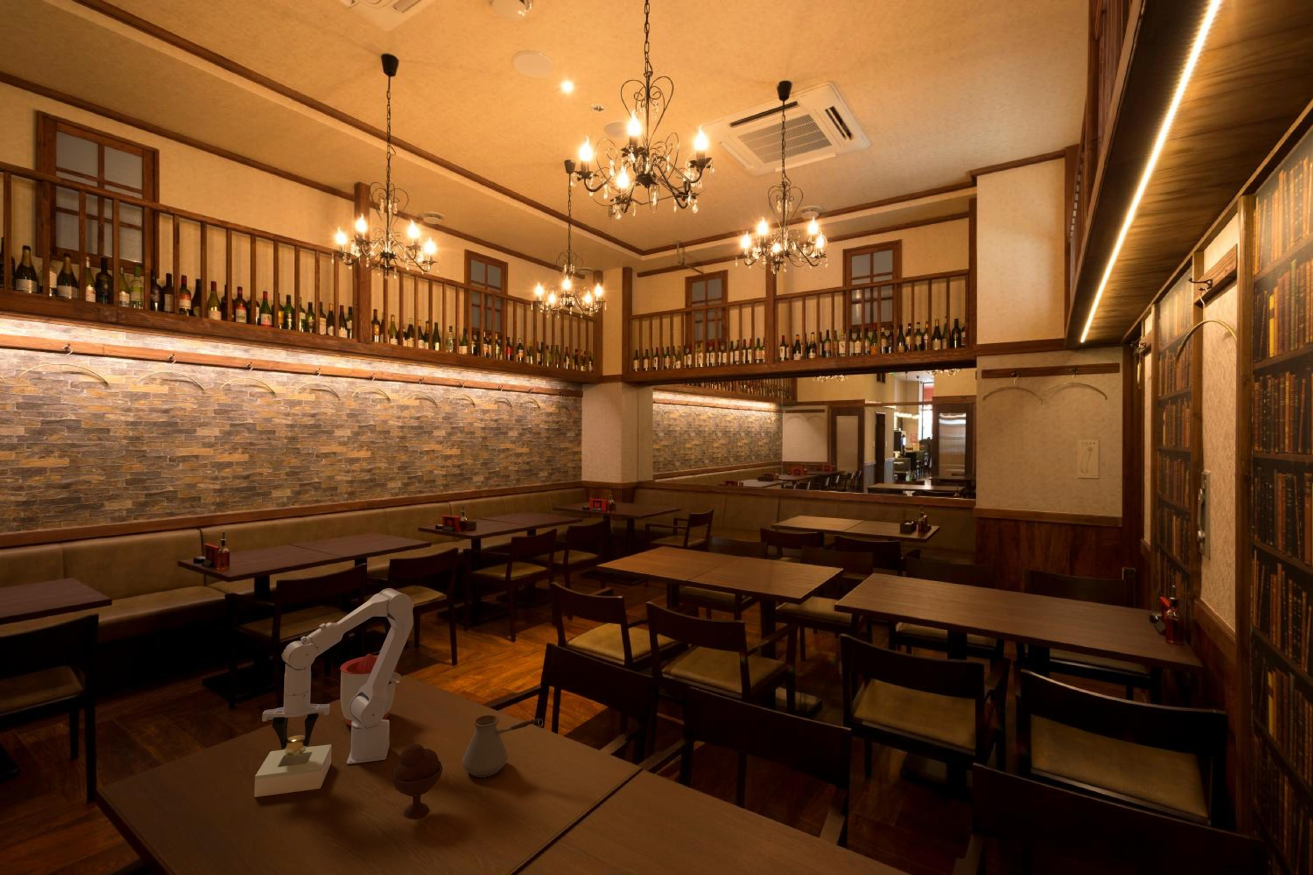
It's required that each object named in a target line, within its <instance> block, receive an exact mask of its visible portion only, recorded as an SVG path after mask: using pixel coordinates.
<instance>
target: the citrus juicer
mask: <svg viewBox="0 0 1313 875" xmlns="http://www.w3.org/2000/svg"><path fill="white" fill-rule="evenodd" d="M378 656H379V654H377V655H373V654H371V653H368V654H366V655H365V656H362V657H361V656H360V657H356V658H354V659H350V660H348V661H345V662H344V663H343V664H341V666H340V667H339V669H340V671H341V672H340V708H341V711H342V716H343V718H344V721H345V723H346V725H348V726H350V727H352V720H353V715H352V714H351V713H350V712H349V704H350V701H351V700H352V699H353V697H354V696H355V695H356V694H357V693H358V691H359V689H360V687H362V686H363V685H364V684H366V683H367V681H368V679H369V676H370V674H371V672H372V669H373V667H374V665H375V663H376V660H377V658H378ZM397 665H398V663H397V664H396V667H395V669H394V671H393V674H392V676H391V678H390V681H389V683H388V686H387V688H386V693H387V701H386V704H385V714H384V717H383V718H382V719H383V720H387V718H388V717H389V714H390V713H391V710H392V706H393V702H394V699H395V693H396V692H395V691H396V690H395V689H396V684H399V683H400V682H401V680H402V676H401V674H400V673H398V672H397Z"/></svg>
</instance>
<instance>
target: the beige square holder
mask: <svg viewBox="0 0 1313 875" xmlns="http://www.w3.org/2000/svg"><path fill="white" fill-rule="evenodd" d="M331 764H332V744H325V745H324V744H323V745H317V746H316V745H315V746H306V751H305V752H303V753H302V754H299V755H295V756H287V755H285V749H280V750H272V751H271V750H270V752H269V753H268V755H267V756H266V758H265V760H264V761H263V762H262V764H261V766H260V768H259V769H258V771H257V772H256V774H255V775H254V795H253V796H254V798H258V797H265V796H267V797H268V796H273V795H280V794H288V793H294V792H295V793H296V792H303V791H311V790H312V791H313V790H319V789H321V788H322V785H323V783H324V781H325V778H326V777H327V775H328V771H329V769H330V766H331Z"/></svg>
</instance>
